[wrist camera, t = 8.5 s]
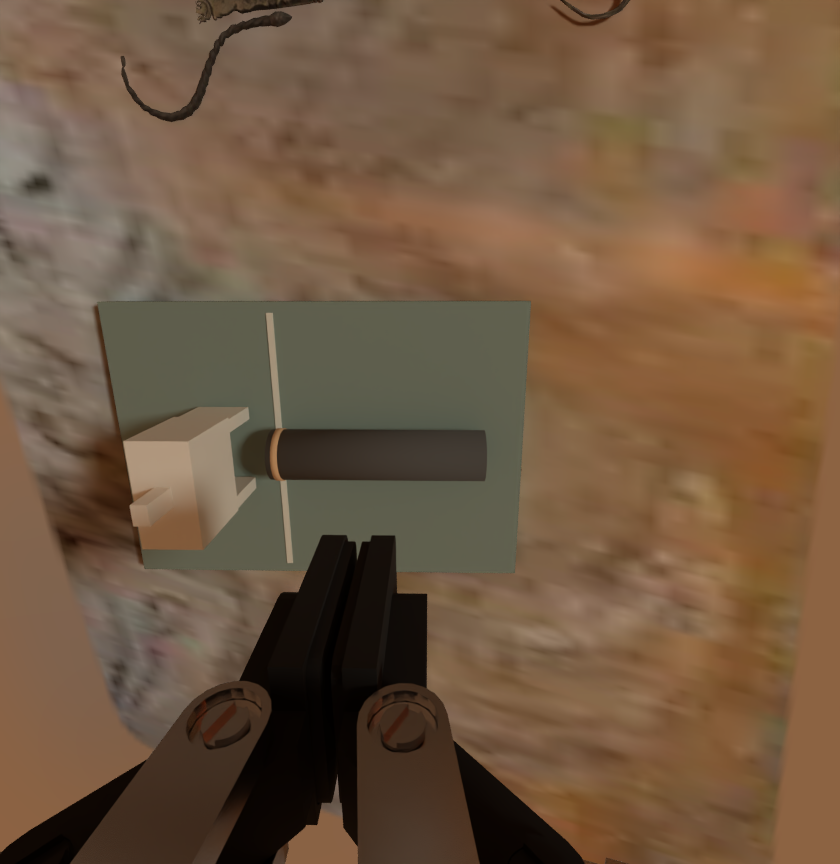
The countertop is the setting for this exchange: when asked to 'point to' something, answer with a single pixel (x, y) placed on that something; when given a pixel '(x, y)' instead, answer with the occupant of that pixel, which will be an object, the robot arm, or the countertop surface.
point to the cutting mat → (336, 417)
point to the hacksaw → (225, 3)
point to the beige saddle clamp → (186, 478)
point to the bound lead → (376, 455)
